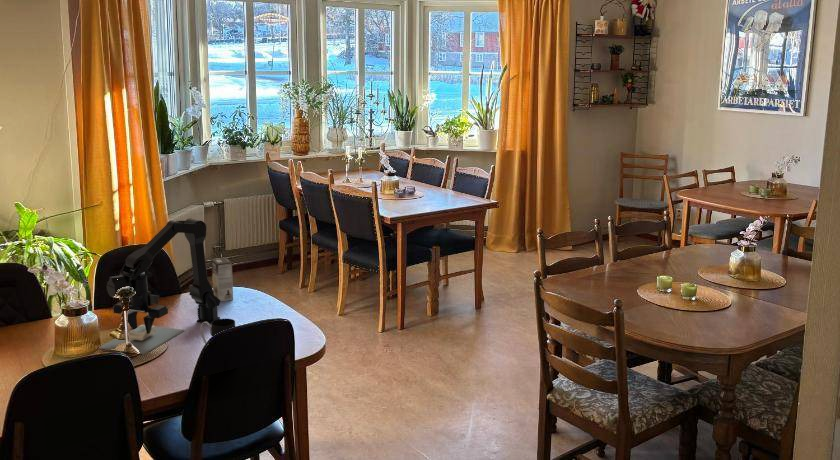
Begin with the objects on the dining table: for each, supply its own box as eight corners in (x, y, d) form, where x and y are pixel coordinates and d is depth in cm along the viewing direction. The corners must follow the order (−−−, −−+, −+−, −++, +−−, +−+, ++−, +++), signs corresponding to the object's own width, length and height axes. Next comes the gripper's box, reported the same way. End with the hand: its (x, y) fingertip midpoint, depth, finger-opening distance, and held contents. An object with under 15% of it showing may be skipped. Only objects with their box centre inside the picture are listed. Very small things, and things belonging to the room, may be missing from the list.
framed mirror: (142, 340, 269) (141, 333, 269) (129, 339, 271) (128, 331, 270) (155, 332, 277) (154, 325, 276) (142, 331, 278) (142, 324, 278)
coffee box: (212, 295, 323) (210, 258, 320) (227, 293, 327) (225, 256, 323) (218, 302, 316) (216, 264, 312) (234, 299, 319) (232, 262, 315)
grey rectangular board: (184, 331, 283) (184, 329, 283) (143, 355, 260) (143, 353, 260) (141, 325, 288) (141, 324, 288) (98, 348, 265) (98, 347, 265)
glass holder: (226, 373, 246) (223, 328, 243) (193, 364, 253) (190, 321, 250) (244, 364, 254) (242, 320, 250) (212, 355, 261) (210, 313, 257)
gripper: (175, 286, 275) (178, 327, 278) (130, 281, 280) (134, 322, 284) (156, 295, 264) (159, 338, 268) (110, 290, 270) (114, 332, 273)
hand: (142, 332), depth 273 cm, fingers closed on framed mirror, 5 cm apart
